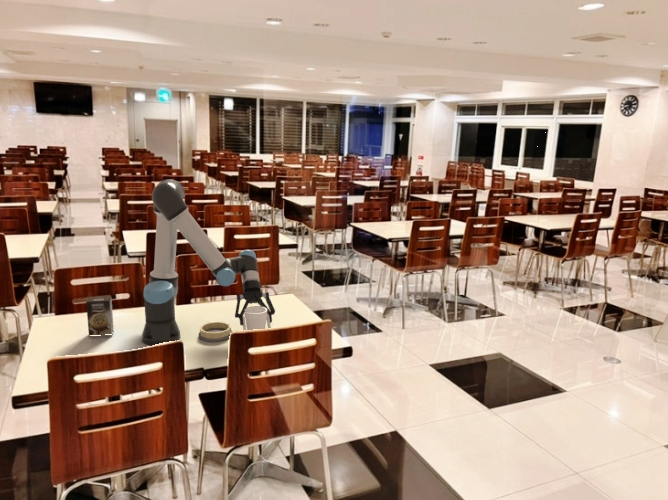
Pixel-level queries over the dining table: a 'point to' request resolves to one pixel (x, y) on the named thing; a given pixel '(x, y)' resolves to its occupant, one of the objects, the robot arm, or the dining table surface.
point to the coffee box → (100, 316)
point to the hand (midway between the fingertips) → (257, 330)
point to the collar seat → (215, 331)
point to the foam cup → (255, 317)
